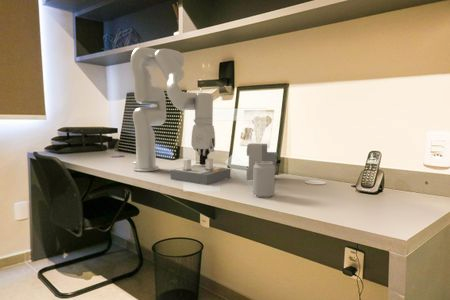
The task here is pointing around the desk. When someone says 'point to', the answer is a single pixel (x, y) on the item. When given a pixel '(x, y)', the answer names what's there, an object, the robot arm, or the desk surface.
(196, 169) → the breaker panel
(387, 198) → the desk surface
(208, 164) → the handle
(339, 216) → the desk surface
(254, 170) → the can
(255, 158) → the circuit breaker
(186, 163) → the handle
